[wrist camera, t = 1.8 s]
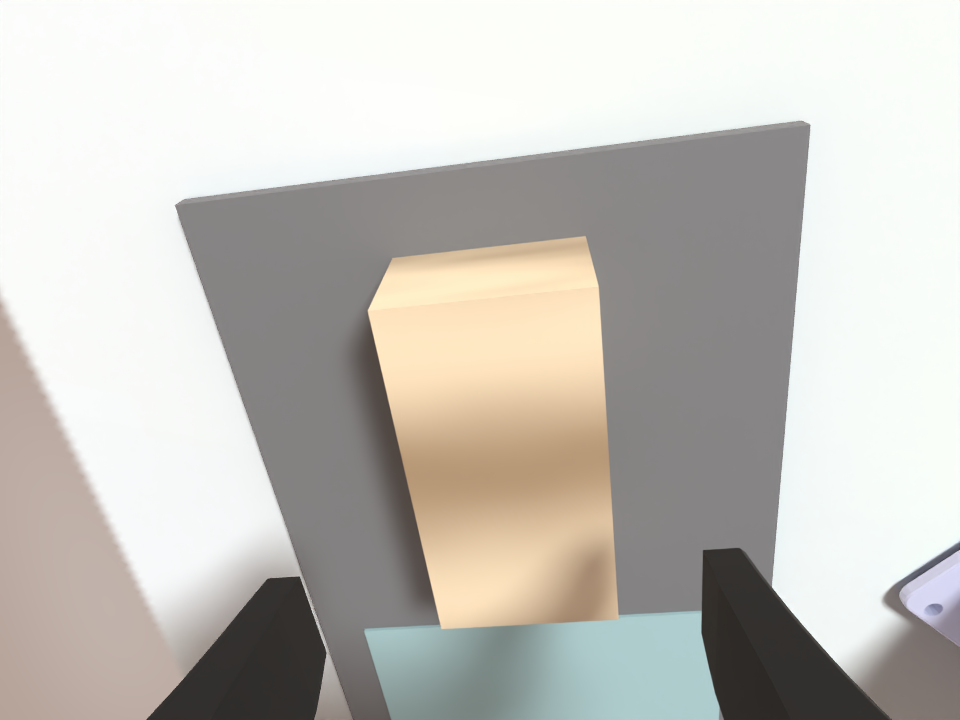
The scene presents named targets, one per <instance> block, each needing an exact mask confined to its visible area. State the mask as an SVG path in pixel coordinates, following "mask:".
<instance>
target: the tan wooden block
mask: <svg viewBox="0 0 960 720" xmlns="http://www.w3.org/2000/svg"><path fill="white" fill-rule="evenodd" d="M368 315H369V319H370V323H371V327H372V332H373V336H374V340H375V345H376V349H377V353H378V358H379V362H380V366H381V371H382V375H383V379H384V384H385V388H386V392H387V396H388V401H389V405H390V409H391V414H392V418H393V422H394V427H395V431H396V435H397V440H398V444H399V448H400V453H401V457H402V461H403V466H404V470H405V474H406V478H407V483H408V487H409V491H410V496H411V500H412V504H413V509H414V513H415V517H416V522H417V526H418V530H419V535H420V539H421V543H422V547H423V552H424V556H425V560H426V565H427V569H428V573H429V578H430V582H431V586H432V591H433V595H434V599H435V604H436V608H437V612H438V616H439V621H440V625H441V629H454V628H473V627H491V626H510V625H529V624H548V623H567V622H586V621H604V620H619V616H618V599H617V583H616V566H615V549H614V533H613V516H612V499H611V483H610V466H609V449H608V433H607V416H606V399H605V383H604V366H603V349H602V332H601V316H600V299H599V286H598V282H597V278H596V274H595V270H594V266H593V262H592V259H591V255H590V251H589V247H588V243H587V239H586V236H583V237H574V238H565V239H556V240H547V241H538V242H530V243H521V244H512V245H503V246H494V247H486V248H477V249H468V250H459V251H450V252H442V253H433V254H424V255H415V256H406V257H397V258H392V260H391V262H390V264H389V267H388V269H387V271H386V273H385V275H384V277H383V279H382V281H381V284H380V286H379V288H378V290H377V292H376V294H375V296H374V298H373V301H372V303H371V305H370V307H369V309H368Z"/></svg>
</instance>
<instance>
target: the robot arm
mask: <svg viewBox="0 0 960 720" xmlns="http://www.w3.org/2000/svg"><path fill="white" fill-rule="evenodd" d="M899 597H900V600H901V601H902V603H903V605H904V606H905V607H906V609H907V610H908V611H910V612H911V613H913V614H914V615H915V616H917V617H918V618H920V619H921V620H922V621H924V622H925V623H926V624H928V625H929V626H931V627H932V628H933V629H935V630H936V631H938V632H939V633H940V634H942V635H943V636H945V637H946V638H947V639H949V640H950V641H951V642H953V643H954V644H956V645H957V646H958V647H960V550H959V551H957V552H956V553H954V554H953V555H951V556H950V557H948V558H946V559H945V560H943V561H942V562H940V563H939V564H937V565H936V566H934V567H933V568H931V569H929V570H928V571H926V572H925V573H923V574H922V575H920V576H919V577H917V578H916V579H914V580H913V581H911V582H909V583H908V584H906V585H905V586H904V587H903V588H902V589H901V591H900V593H899ZM701 634H702V638H703V643H704V647H705V652H706V657H707V661H708V666H709V670H710V674H711V678H712V683H713V687H714V691H715V695H716V698H717V701H718V704H719V707H720V710H721V713H722V716H723V719H724V720H892V719H891V718H889V717H888V716H887V715H886V714H885V713H884V712H883V711H882V710H881V709H880V708H879V707H878V706H877V705H876V704H875V703H874V702H873V701H872V700H871V699H870V698H869V697H868V696H867V695H866V694H865V693H864V692H863V690H862V689H861V688H860V687H859V686H858V685H857V684H856V683H855V682H854V681H853V680H852V679H851V678H850V677H849V676H848V675H847V674H846V673H845V672H844V671H843V670H842V669H841V668H840V666H839V665H838V664H837V663H836V662H835V661H834V660H833V659H832V658H831V657H830V656H829V654H828V653H827V652H826V651H825V650H824V649H823V648H822V647H821V645H820V644H819V643H818V642H817V641H816V640H815V639H814V638H813V636H812V635H811V634H810V633H809V632H808V631H807V630H806V628H805V627H804V626H803V625H802V624H801V623H800V621H799V620H798V619H797V618H796V617H795V616H794V614H793V613H792V612H791V611H790V610H789V608H788V607H787V606H786V605H785V603H784V602H783V601H782V600H781V598H780V597H779V596H778V595H777V593H776V592H775V591H774V590H773V588H772V587H771V586H770V585H769V583H768V582H767V581H766V579H765V578H764V577H763V575H762V574H761V573H760V571H759V570H758V569H757V567H756V566H755V565H754V563H753V562H752V561H751V559H750V558H749V556H748V555H747V554H746V552H744V551H743V550H742V549H741V548H727V549H711V550H703V570H702V620H701ZM325 659H326V650H325V647H324V644H323V642H322V639H321V636H320V633H319V630H318V627H317V625H316V622H315V619H314V616H313V613H312V610H311V607H310V605H309V602H308V599H307V596H306V593H305V590H304V588H303V585H302V582H301V579H300V577H286V578H270V579H267V580H266V582H265V583H264V584H263V585H262V586H261V587H260V589H259V590H258V591H257V592H256V593H255V594H254V596H253V597H252V598H251V599H250V600H249V602H248V603H247V604H246V605H245V606H244V608H243V609H242V610H241V611H240V612H239V614H238V615H237V616H236V617H235V619H234V620H233V621H232V622H231V623H230V625H229V626H228V627H227V628H226V629H225V631H224V632H223V633H222V634H221V636H220V637H219V638H218V639H217V640H216V642H215V643H214V644H213V645H212V646H211V647H210V649H209V650H208V651H207V652H206V653H205V654H204V656H203V657H202V658H201V659H200V660H199V662H198V663H197V664H196V665H195V666H194V667H193V669H192V670H191V671H190V672H189V673H188V674H187V676H186V677H185V678H184V679H183V680H182V681H181V682H180V684H179V685H178V686H177V687H176V688H175V689H174V690H173V691H172V693H171V694H170V695H169V696H168V697H167V698H166V699H165V700H164V701H163V702H162V704H161V705H159V707H158V708H157V709H156V710H155V711H154V712H153V713H152V714H151V715H150V716H149V717H148V718H147V720H314V717H315V714H316V710H317V705H318V700H319V694H320V689H321V684H322V677H323V671H324V665H325Z"/></svg>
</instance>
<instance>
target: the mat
mask: <svg viewBox="0 0 960 720" xmlns="http://www.w3.org/2000/svg"><path fill="white" fill-rule="evenodd" d="M809 136H810V124H808V123H806V122H803V121H796V122H788V123H780V124H772V125H764V126H756V127H748V128H741V129H733V130H725V131H717V132H709V133H701V134H693V135H686V136H678V137H670V138H662V139H654V140H646V141H638V142H631V143H623V144H615V145H607V146H599V147H591V148H583V149H576V150H568V151H560V152H552V153H544V154H536V155H528V156H521V157H513V158H505V159H497V160H489V161H481V162H473V163H466V164H458V165H450V166H442V167H434V168H426V169H418V170H411V171H403V172H395V173H387V174H379V175H371V176H363V177H356V178H348V179H340V180H332V181H324V182H316V183H308V184H301V185H293V186H285V187H277V188H269V189H261V190H253V191H246V192H238V193H230V194H222V195H214V196H206V197H198V198H191V199H184V200H182V201H181V202H179V203H178V204H176V205H175V207H176V210H177V213H178V215H179V218H180V221H181V224H182V227H183V230H184V233H185V236H186V238H187V241H188V244H189V247H190V250H191V253H192V256H193V259H194V262H195V264H196V267H197V270H198V273H199V276H200V279H201V282H202V285H203V287H204V290H205V293H206V296H207V299H208V302H209V305H210V308H211V311H212V313H213V316H214V319H215V322H216V325H217V328H218V331H219V334H220V336H221V339H222V342H223V345H224V348H225V351H226V354H227V357H228V359H229V362H230V365H231V368H232V371H233V374H234V377H235V380H236V383H237V385H238V388H239V391H240V394H241V397H242V400H243V403H244V406H245V408H246V411H247V414H248V417H249V420H250V423H251V426H252V429H253V431H254V434H255V437H256V440H257V443H258V446H259V449H260V452H261V455H262V457H263V460H264V463H265V466H266V469H267V472H268V475H269V478H270V480H271V483H272V486H273V489H274V492H275V495H276V498H277V501H278V503H279V506H280V509H281V512H282V515H283V518H284V521H285V524H286V527H287V529H288V532H289V535H290V538H291V541H292V544H293V547H294V550H295V552H296V555H297V558H298V561H299V564H300V567H301V570H302V573H303V576H304V578H305V581H306V584H307V587H308V590H309V593H310V596H311V599H312V601H313V604H314V607H315V610H316V613H317V616H318V619H319V622H320V624H321V627H322V630H323V633H324V636H325V639H326V642H327V645H328V648H329V650H330V653H331V656H332V659H333V662H334V665H335V668H336V671H337V673H338V676H339V679H340V682H341V685H342V688H343V691H344V694H345V696H346V699H347V702H348V705H349V708H350V711H351V714H352V717H353V720H724V719H723V716H722V713H721V710H720V707H719V704H718V701H717V698H716V695H715V691H714V687H713V683H712V678H711V674H710V670H709V666H708V661H707V657H706V652H705V647H704V643H703V638H702V634H701V620H702V570H703V550H711V549H727V548H741V549H742V550H743V551H744V552H746V554H747V555H748V556H749V558H750V559H751V561H752V562H753V563H754V565H755V566H756V567H757V569H758V570H759V571H760V573H761V574H762V575H763V577H764V578H765V579H766V581H767V582H768V583H769V585H770V586H771V587H772V577H773V565H774V553H775V541H776V529H777V517H778V505H779V493H780V482H781V470H782V458H783V446H784V434H785V422H786V410H787V398H788V386H789V374H790V362H791V351H792V339H793V327H794V315H795V303H796V291H797V279H798V267H799V255H800V243H801V231H802V219H803V208H804V196H805V184H806V172H807V160H808V148H809ZM583 236H586V239H587V243H588V247H589V251H590V255H591V259H592V262H593V266H594V270H595V274H596V278H597V282H598V286H599V299H600V316H601V332H602V349H603V366H604V383H605V399H606V416H607V433H608V449H609V466H610V483H611V499H612V516H613V533H614V549H615V566H616V583H617V599H618V616H619V620H604V621H586V622H567V623H548V624H529V625H510V626H491V627H473V628H454V629H441V625H440V621H439V616H438V612H437V608H436V604H435V599H434V595H433V591H432V586H431V582H430V578H429V573H428V569H427V565H426V560H425V556H424V552H423V547H422V543H421V539H420V535H419V530H418V526H417V522H416V517H415V513H414V509H413V504H412V500H411V496H410V491H409V487H408V483H407V478H406V474H405V470H404V466H403V461H402V457H401V453H400V448H399V444H398V440H397V435H396V431H395V427H394V422H393V418H392V414H391V409H390V405H389V401H388V396H387V392H386V388H385V384H384V379H383V375H382V371H381V366H380V362H379V358H378V353H377V349H376V345H375V340H374V336H373V332H372V327H371V323H370V319H369V315H368V309H369V307H370V305H371V303H372V301H373V298H374V296H375V294H376V292H377V290H378V288H379V286H380V284H381V281H382V279H383V277H384V275H385V273H386V271H387V269H388V267H389V264H390V262H391V260H392V258H397V257H406V256H415V255H424V254H433V253H442V252H450V251H459V250H468V249H477V248H486V247H494V246H503V245H512V244H521V243H530V242H538V241H547V240H556V239H565V238H574V237H583Z"/></svg>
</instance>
